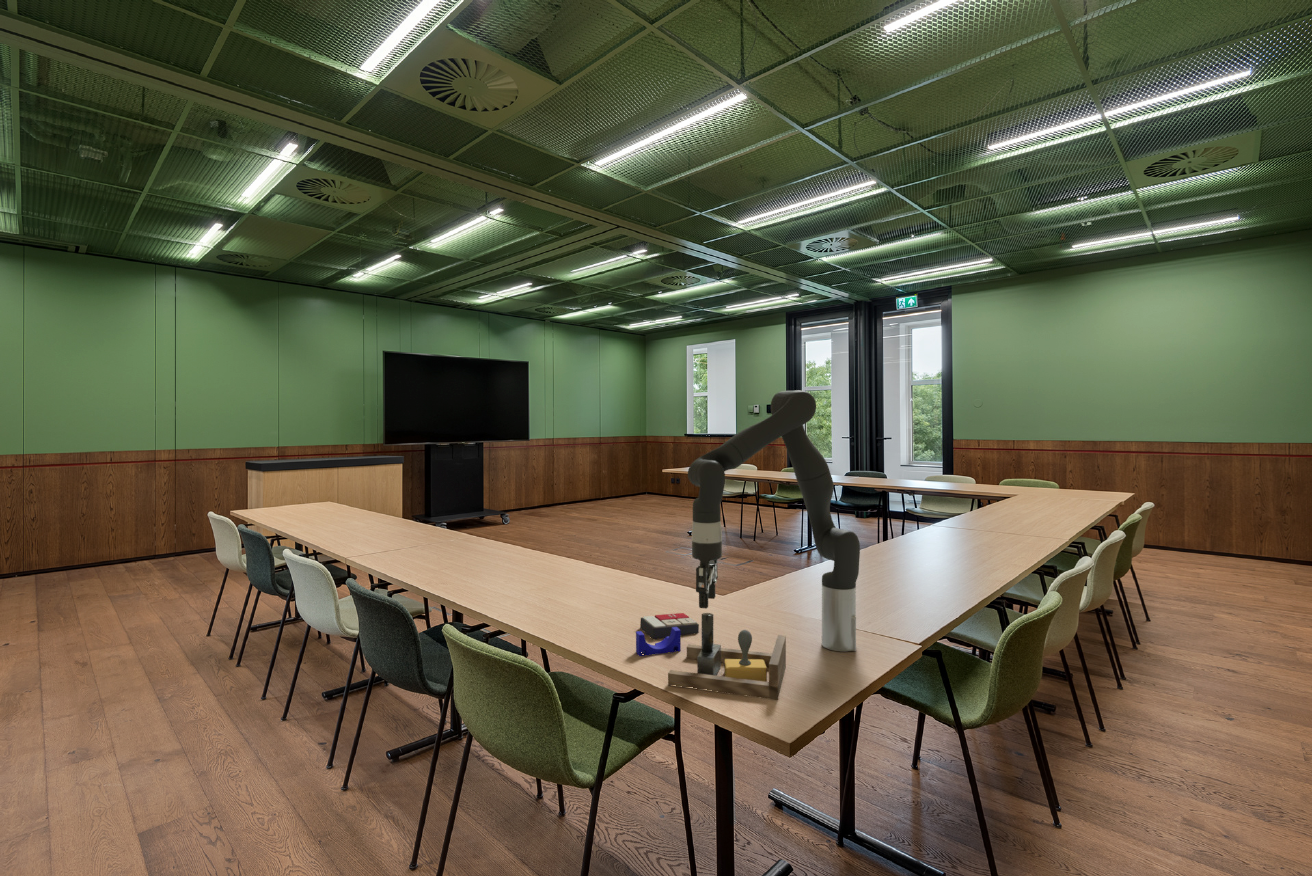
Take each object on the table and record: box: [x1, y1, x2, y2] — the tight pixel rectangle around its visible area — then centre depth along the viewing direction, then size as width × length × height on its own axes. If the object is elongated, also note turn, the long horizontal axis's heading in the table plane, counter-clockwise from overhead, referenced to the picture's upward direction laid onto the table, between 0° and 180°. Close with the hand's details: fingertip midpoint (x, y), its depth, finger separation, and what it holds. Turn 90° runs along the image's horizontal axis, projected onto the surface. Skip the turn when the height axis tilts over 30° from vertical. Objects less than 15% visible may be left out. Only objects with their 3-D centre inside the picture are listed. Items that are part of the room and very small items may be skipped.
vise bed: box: [667, 634, 787, 701], centre depth 149 cm, size 26×20×8 cm
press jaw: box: [696, 612, 722, 676], centre depth 151 cm, size 4×9×14 cm, turn 163°
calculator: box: [639, 612, 700, 640], centre depth 183 cm, size 11×4×15 cm
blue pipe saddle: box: [635, 627, 682, 657], centre depth 166 cm, size 12×4×6 cm, turn 108°
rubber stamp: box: [723, 629, 768, 682], centre depth 148 cm, size 10×6×12 cm, turn 87°
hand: (707, 602), depth 151 cm, fingers open, 8 cm apart
